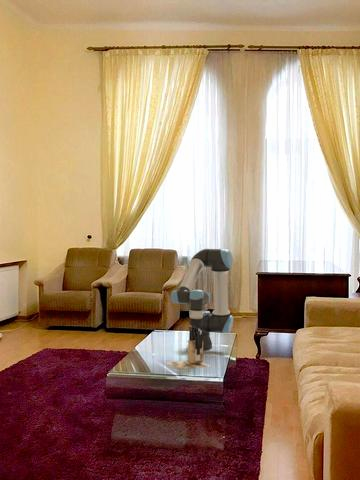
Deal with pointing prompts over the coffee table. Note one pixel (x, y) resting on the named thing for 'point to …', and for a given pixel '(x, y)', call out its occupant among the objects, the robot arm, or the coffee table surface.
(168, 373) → the coffee table surface
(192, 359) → the block
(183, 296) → the robot arm
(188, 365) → the board
